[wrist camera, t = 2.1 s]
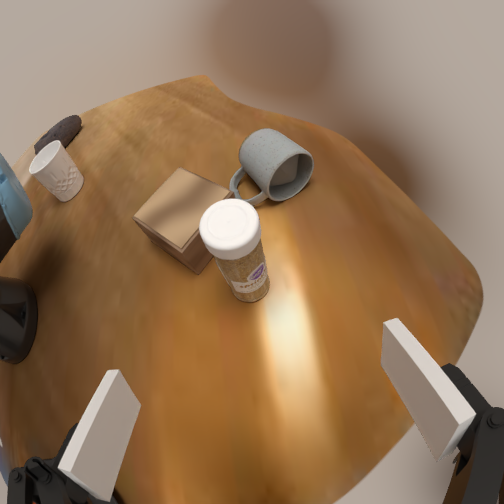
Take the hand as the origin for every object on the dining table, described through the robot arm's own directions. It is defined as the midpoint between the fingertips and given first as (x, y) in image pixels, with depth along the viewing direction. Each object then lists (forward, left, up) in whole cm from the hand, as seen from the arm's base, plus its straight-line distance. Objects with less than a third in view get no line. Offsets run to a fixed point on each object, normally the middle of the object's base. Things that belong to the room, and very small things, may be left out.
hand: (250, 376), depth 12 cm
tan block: (-18, +10, -17) cm, 27 cm away
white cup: (-49, +4, -17) cm, 52 cm away
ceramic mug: (-14, +21, -17) cm, 31 cm away
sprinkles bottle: (-8, +8, -17) cm, 20 cm away
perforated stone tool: (-68, +11, -17) cm, 71 cm away
